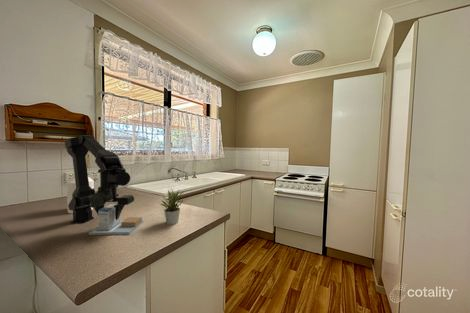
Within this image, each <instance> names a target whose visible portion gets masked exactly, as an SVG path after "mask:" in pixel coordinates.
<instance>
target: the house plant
mask: <svg viewBox="0 0 470 313" xmlns="http://www.w3.org/2000/svg"><path fill="white" fill-rule="evenodd" d="M180 190H181V189H178V190H177V191H176V192H174V190H173V189H172V188H170V189H167V195H168V196H167V197H168V199H167V198H166V197H165V196H164V195H163V194H161V193H157V195H158V194H159V195H160V196H161V197H162V198H163V199H164V200H161V202H162V203H159V205H160V206H163V207H165V209H164V217H165V221H166V225H168V226H169V225H172V226H173V225H177V224H178V223H179V219H180V218H179V217H180V214H181V213H180V211H181V208H180V206H181V205H182V203H183V202H184V203H185V200H188V199H187V198H186V199H183V200H180V199H182V198H183V197H184V196H185V195H186V193H185V192H187V191H188V189H187V190H184V191H181V193H180ZM165 201H166V202H165Z"/></svg>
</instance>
